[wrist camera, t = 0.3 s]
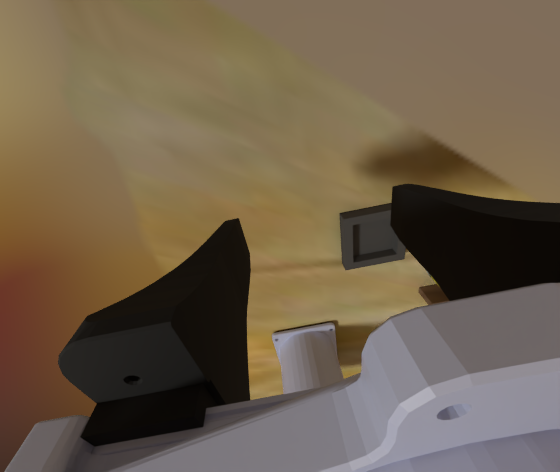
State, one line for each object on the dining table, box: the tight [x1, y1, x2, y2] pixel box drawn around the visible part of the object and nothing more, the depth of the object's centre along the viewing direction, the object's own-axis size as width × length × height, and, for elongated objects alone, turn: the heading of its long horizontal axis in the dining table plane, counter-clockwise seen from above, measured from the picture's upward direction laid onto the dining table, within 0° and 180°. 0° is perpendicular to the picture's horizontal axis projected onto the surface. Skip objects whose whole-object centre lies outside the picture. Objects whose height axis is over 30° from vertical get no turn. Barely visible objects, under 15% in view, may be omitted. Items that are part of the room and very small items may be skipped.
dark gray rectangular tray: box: [340, 203, 406, 270], centre depth 24 cm, size 6×6×1 cm
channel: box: [419, 284, 449, 305], centre depth 26 cm, size 9×5×2 cm, turn 10°
